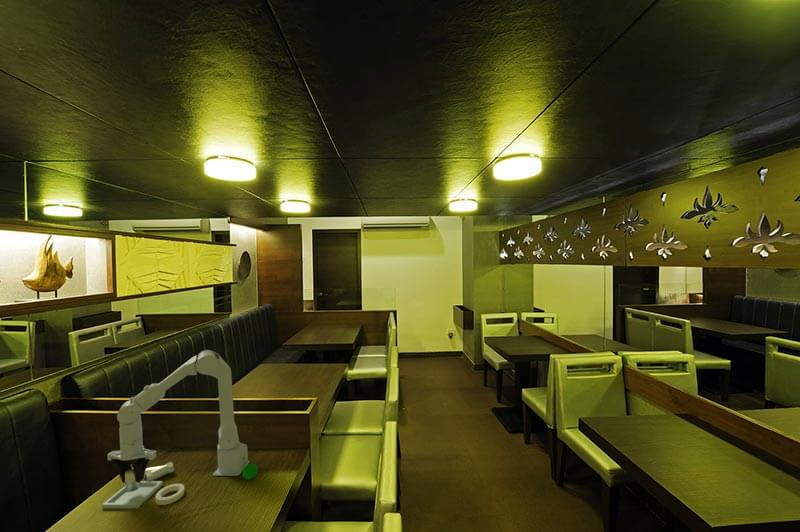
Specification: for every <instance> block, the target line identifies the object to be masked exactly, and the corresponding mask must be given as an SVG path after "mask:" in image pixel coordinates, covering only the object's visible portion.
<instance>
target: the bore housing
mask: <svg viewBox="0 0 800 532" xmlns="http://www.w3.org/2000/svg"><path fill="white" fill-rule="evenodd" d="M171 492H175V493H173V494H172V495H169V496H165V495H166V494H168V493H171ZM184 495H185V485H184V484H183V483H173V484H169V485H167V486H165V487H163V488H160V489H159V490H158V491H157V493H155V503H156V505H159V506H166V505H170V504H172V503H174V502H176V501H178V500H180V499H181V498H182V497H183V496H184Z"/></svg>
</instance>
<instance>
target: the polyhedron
mask: <svg viewBox="0 0 800 532" xmlns="http://www.w3.org/2000/svg"><path fill="white" fill-rule="evenodd" d="M258 472H259V468H258V465H257V464H255V463H252V462H251V463H250V462H249V463H248V465H247V466H245V467H244V469H243V471H242V472H241V474H242V478H244V479H245V480H253V479H254V478H255V477H256V476H257V475H258Z"/></svg>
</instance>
